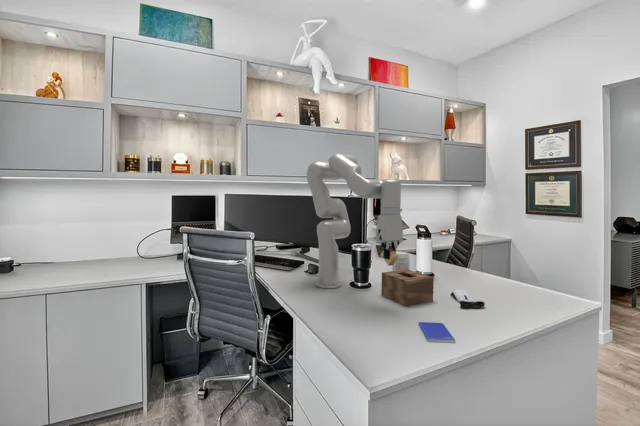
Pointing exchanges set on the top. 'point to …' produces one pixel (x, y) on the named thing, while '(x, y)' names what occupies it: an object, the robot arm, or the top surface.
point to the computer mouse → (466, 300)
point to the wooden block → (391, 257)
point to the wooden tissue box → (407, 287)
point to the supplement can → (401, 261)
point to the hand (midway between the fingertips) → (389, 258)
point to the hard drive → (436, 332)
